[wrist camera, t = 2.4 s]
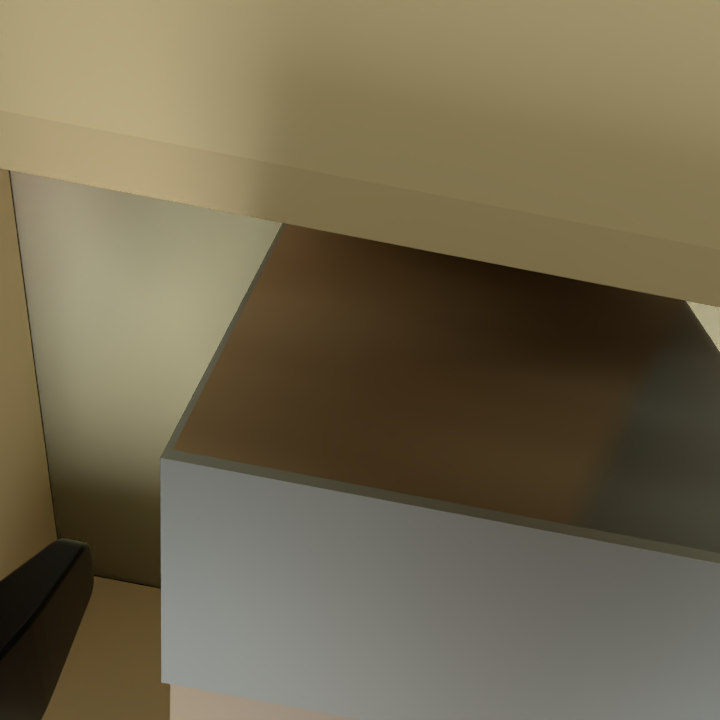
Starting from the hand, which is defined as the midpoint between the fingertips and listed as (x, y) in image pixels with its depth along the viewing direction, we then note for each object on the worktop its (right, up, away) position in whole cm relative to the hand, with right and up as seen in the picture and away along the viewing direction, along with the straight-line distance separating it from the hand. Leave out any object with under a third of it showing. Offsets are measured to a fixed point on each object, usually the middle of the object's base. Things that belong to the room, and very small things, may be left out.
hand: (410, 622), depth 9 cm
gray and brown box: (0, +2, +3) cm, 4 cm away
